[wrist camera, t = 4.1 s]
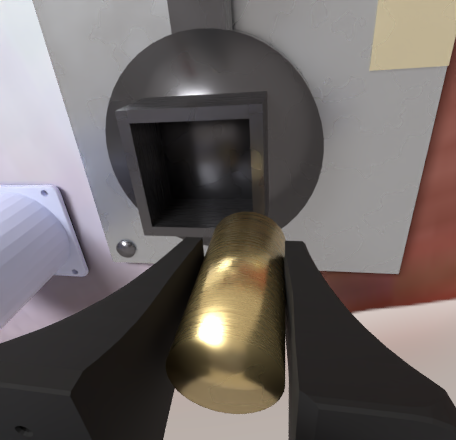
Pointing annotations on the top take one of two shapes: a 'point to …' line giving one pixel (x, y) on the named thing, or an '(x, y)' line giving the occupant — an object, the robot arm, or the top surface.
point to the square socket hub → (212, 127)
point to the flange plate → (323, 95)
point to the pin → (235, 320)
